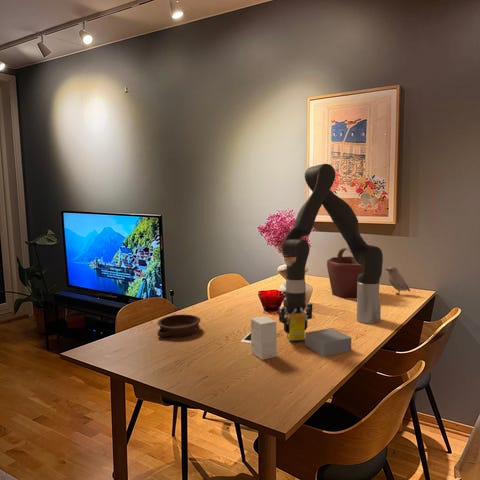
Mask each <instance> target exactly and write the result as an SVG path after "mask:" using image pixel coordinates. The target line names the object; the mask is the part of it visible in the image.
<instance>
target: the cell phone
mask: <svg viewBox="0 0 480 480" xmlns="http://www.w3.org/2000/svg"><path fill="white" fill-rule="evenodd" d="M240 343H243V344H244V343H245V344H250V343H251V331H250V332H249V333H248V334H247V335H246V336H245V337H243V339H241V341H240Z"/></svg>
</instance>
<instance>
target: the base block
mask: <svg viewBox="0 0 480 480" xmlns="http://www.w3.org/2000/svg"><path fill="white" fill-rule="evenodd" d="M304 344H305V345H304V346H306V347H307V348H309V349H311V350H312V351H314V352H316V353H317V354H319V355H320V356H322V357H329V356H333V355H337V354H342V353H347V352H352V337H351V336H349V335H347V334H345V333H343V332H341V331H339V330H337V329H335V328H333V327H329V328H324V329H318V330H313V331H309V332H307V331H305V343H304Z"/></svg>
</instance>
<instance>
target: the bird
mask: <svg viewBox="0 0 480 480" xmlns="http://www.w3.org/2000/svg"><path fill="white" fill-rule="evenodd" d="M384 269H385V271H387V272H388V273H387V275H388V276H387V277H388V281H389V283H390V285H391V286H392V287H393V288H394V289H395V290H397V292H395V294H396V296H400V295H401V292H402V291H404V292H406V291H408V292H409V293H411V289H410V287H409V286H408V284H407V282H406V281H405V278H404V277H403V275H402V274H401V273H400V271H399V270H398V269H397V268H396V267H395V266H389V267H388V268H384Z"/></svg>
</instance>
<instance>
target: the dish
mask: <svg viewBox="0 0 480 480" xmlns="http://www.w3.org/2000/svg"><path fill="white" fill-rule="evenodd" d="M200 322H201V317H198V316H196V315H192V314H173V315H172V314H171V315H168V316H165V317H162V318H160V319H159V320H158V321H157V325H158V326H159V329H158V330H157V336H158V337H172V338H173V337H177V338H179V337H186V336H189V335H192V334H194V333H195V332H196V331H197V329H198V328H199V323H200Z"/></svg>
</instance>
